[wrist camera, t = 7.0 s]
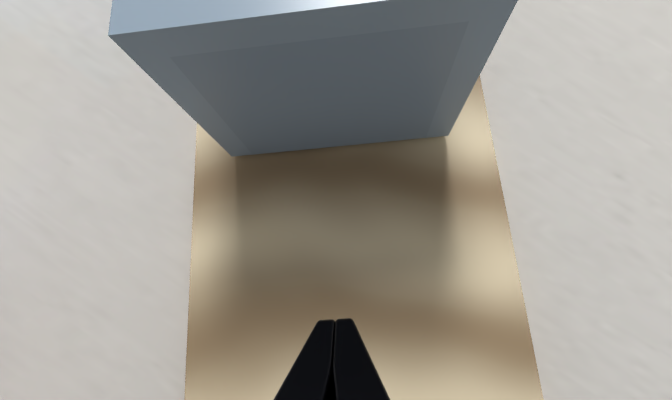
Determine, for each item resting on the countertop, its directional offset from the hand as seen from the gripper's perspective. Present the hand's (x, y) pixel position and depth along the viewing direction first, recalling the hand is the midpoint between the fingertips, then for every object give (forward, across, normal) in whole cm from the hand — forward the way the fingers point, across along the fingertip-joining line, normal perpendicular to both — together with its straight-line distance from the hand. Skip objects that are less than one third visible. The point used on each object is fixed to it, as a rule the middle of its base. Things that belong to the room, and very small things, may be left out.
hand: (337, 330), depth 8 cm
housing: (+12, 0, -4) cm, 13 cm away
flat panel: (+9, 0, +1) cm, 9 cm away
